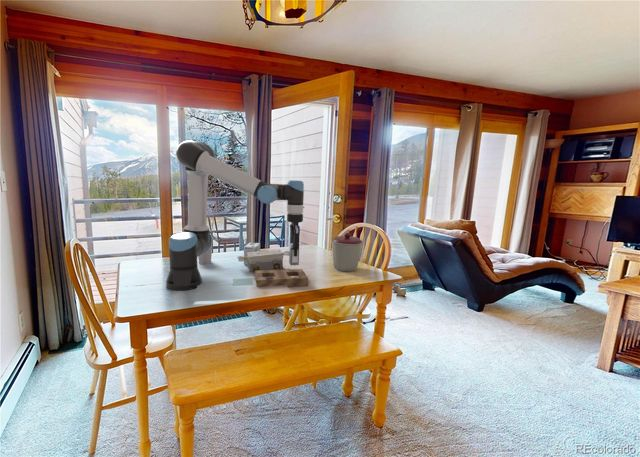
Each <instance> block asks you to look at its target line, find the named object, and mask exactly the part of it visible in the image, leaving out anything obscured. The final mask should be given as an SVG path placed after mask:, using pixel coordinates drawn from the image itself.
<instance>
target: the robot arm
mask: <svg viewBox="0 0 640 457" xmlns="http://www.w3.org/2000/svg"><path fill="white" fill-rule="evenodd" d="M175 155H176V159H177V160H178V162H179V163H180V164H181V165H182V166H184V168H185V172H186V173H187V174H188V188H187V189H188V190H187V191H188V192H187V195H188V196H187V225H185V226H184V228H183V232H178V233H174V234H172V235H171V236H170V237H169V238H168V254H169V257H168V258H169V272H168V274H167V277H166V281H165V285H166V286H165V287H166V288H167V289H169V290H172V291H189V290H194V289H196V288H197V287H198V286H199V285H201V284H202V282H203V279H202V278H203V277H202V276H201V273H200V270H199V267H198V266H199V265H198V264H199V263H198V256H199V255H201V254H203V253H205V252H206V251H207V250H208V249H209V248H210V247H211V245H212V246H213V243H212V238H213V236H212V234H211V233H210V227H209V225H208V224H207V222H208V221H207V220H208V218H207V217H208V216H207V215H208V191H209V190H208V188H209V187H208V185H209V184H208V183H209V176H211V177H213V178H215V179H217V180H220V181H221V182H223V183H226V184H228V185H230V186H232V187H234V188H236V189H238V190H240V191H241V192H244V193H247V194H248V195H251V196H252V197H255V198H256V199H258V201H260V202H261V203H263V204H268V205H269V204H272V203H274V202H275V201H286V202H287V203H286V213H287V214H286V221H287V222H288V223H291V224H289V244H290V243H293V248H291V250H292V263H298V249H299V250H300V236H301V235H300V234H301V229H300V228H301V227H300V225H299V223H302V222H303V221H304V214H303V213H304V209H305V206H304V200H305V199H304V196H305V195H304V194H305V187H304V181H302V180H295V179H293V180H292V179H291V180H288V181H287V183H286V184H285V183H284V184H282V183H281V184H279V183H267V182H265V181H263V180H260V179H259V178H257V177H255V176H252V175H251V174H249V173H246V172H244V171H242V170H240V169H238V168H237V167H234V166H233V165H230V164H228V163H226V162H224V161H222V160H220V159H217V158H216V153H215V151H214V149H213V148H212V147H211V145H209V144H207V143H204V142H201V141H195V140H184V141H183V142H181V143H180V144H178V146H177V148H176V154H175Z"/></svg>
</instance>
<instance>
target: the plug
mask: <svg viewBox="0 0 640 457" xmlns="http://www.w3.org/2000/svg"><path fill="white" fill-rule="evenodd" d="M291 248H293V243H290V242H289V251H290V252H289V257H288V259H289V260H288V261H289V262H288V264H289V265H290V266H299V265H300V264H299V263H300V248H299V249H298V263H292V250H291Z"/></svg>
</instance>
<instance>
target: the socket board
mask: <svg viewBox="0 0 640 457" xmlns="http://www.w3.org/2000/svg"><path fill="white" fill-rule="evenodd" d="M254 279H255V286H256V287H257V288H258V287H274V286H275V287H277V286H287V288H299V287H308V286H309V278H308V276H307V274H306V272H305V271H304V270H303V268H299V269H298V268H295V269H292V268H290V269H282V270H258V271H255V272H254Z"/></svg>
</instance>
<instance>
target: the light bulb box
mask: <svg viewBox="0 0 640 457" xmlns="http://www.w3.org/2000/svg"><path fill="white" fill-rule="evenodd" d="M257 251H261V243H260V242H249V243H247V244H246V245H244V246H243V257H244V256H247V253H248V252H257ZM243 265H244V266H248V263H247V260H244V261H243Z"/></svg>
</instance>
